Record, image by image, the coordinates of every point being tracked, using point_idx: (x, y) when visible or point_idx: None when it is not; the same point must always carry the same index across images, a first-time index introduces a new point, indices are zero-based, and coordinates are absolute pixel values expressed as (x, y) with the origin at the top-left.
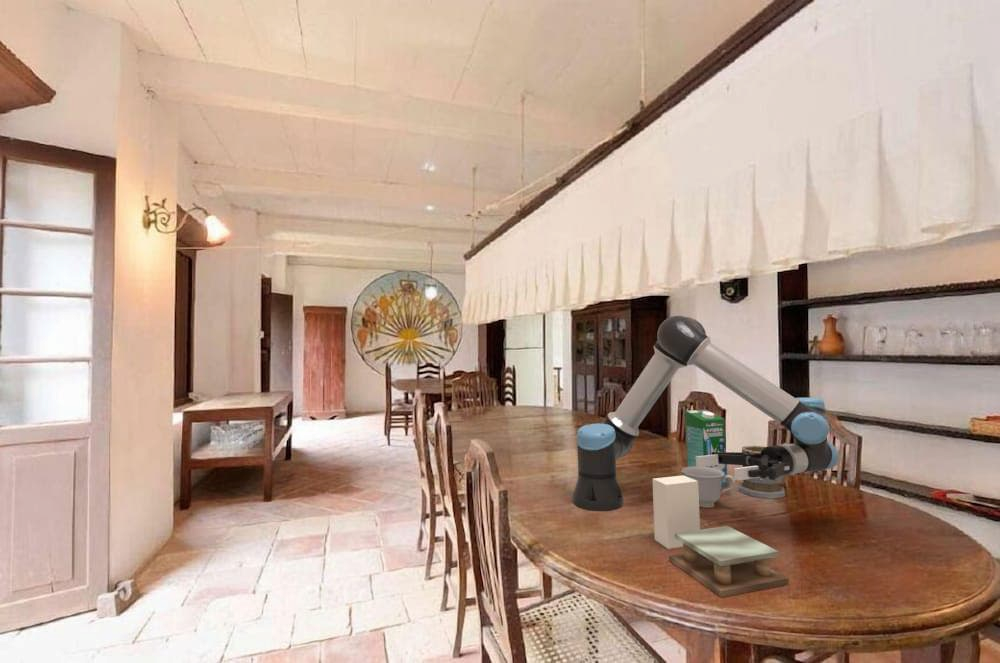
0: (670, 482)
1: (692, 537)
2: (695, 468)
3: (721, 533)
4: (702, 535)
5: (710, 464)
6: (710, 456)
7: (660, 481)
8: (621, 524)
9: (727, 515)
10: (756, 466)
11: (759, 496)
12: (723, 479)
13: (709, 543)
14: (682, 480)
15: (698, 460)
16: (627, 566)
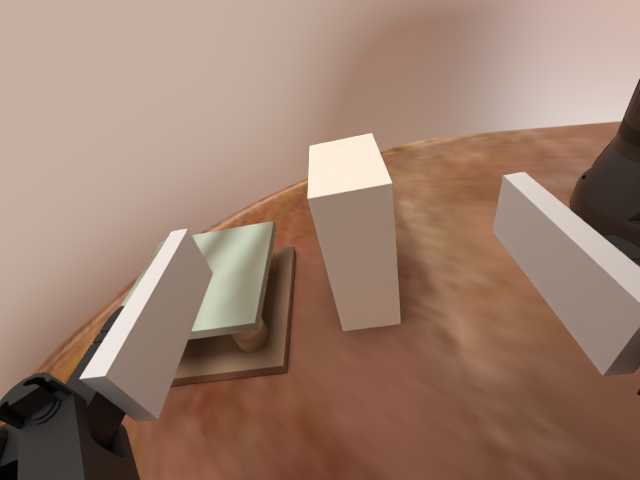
0: (323, 152)
1: (245, 237)
2: None
3: (228, 287)
4: (242, 253)
5: (550, 294)
6: (571, 247)
7: (340, 141)
8: (476, 229)
9: None
10: (94, 360)
11: None
12: None
13: (211, 250)
14: (332, 172)
15: (503, 199)
16: (302, 210)
